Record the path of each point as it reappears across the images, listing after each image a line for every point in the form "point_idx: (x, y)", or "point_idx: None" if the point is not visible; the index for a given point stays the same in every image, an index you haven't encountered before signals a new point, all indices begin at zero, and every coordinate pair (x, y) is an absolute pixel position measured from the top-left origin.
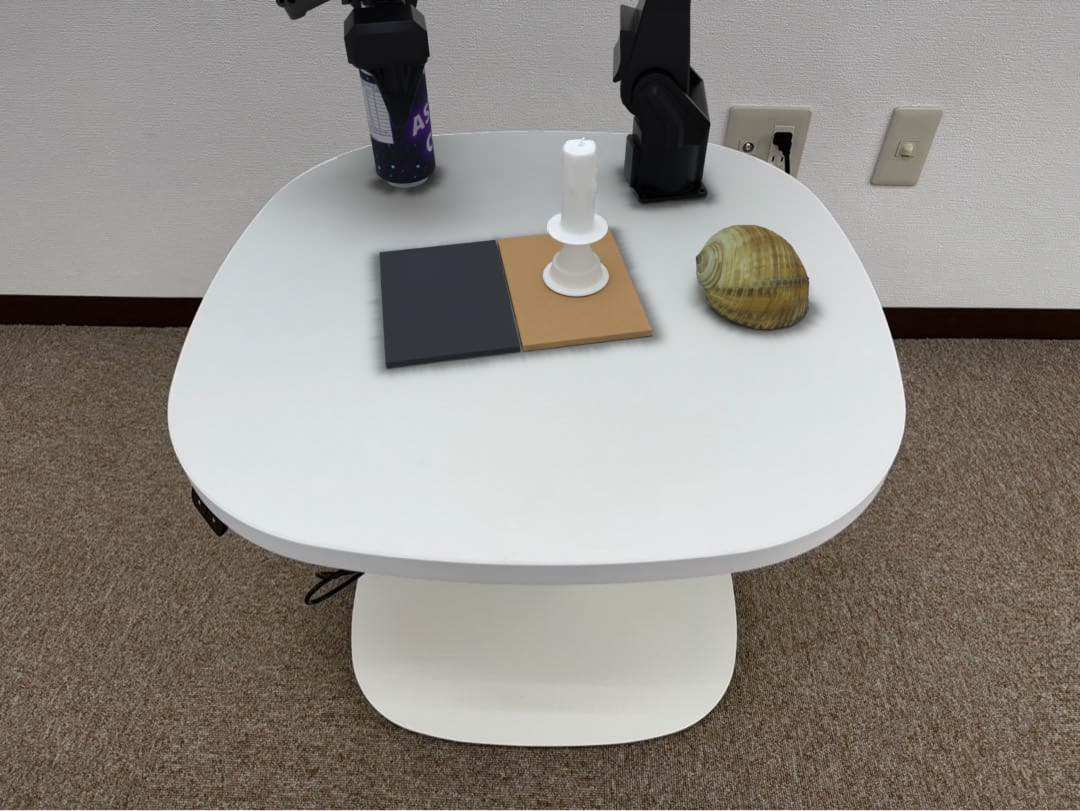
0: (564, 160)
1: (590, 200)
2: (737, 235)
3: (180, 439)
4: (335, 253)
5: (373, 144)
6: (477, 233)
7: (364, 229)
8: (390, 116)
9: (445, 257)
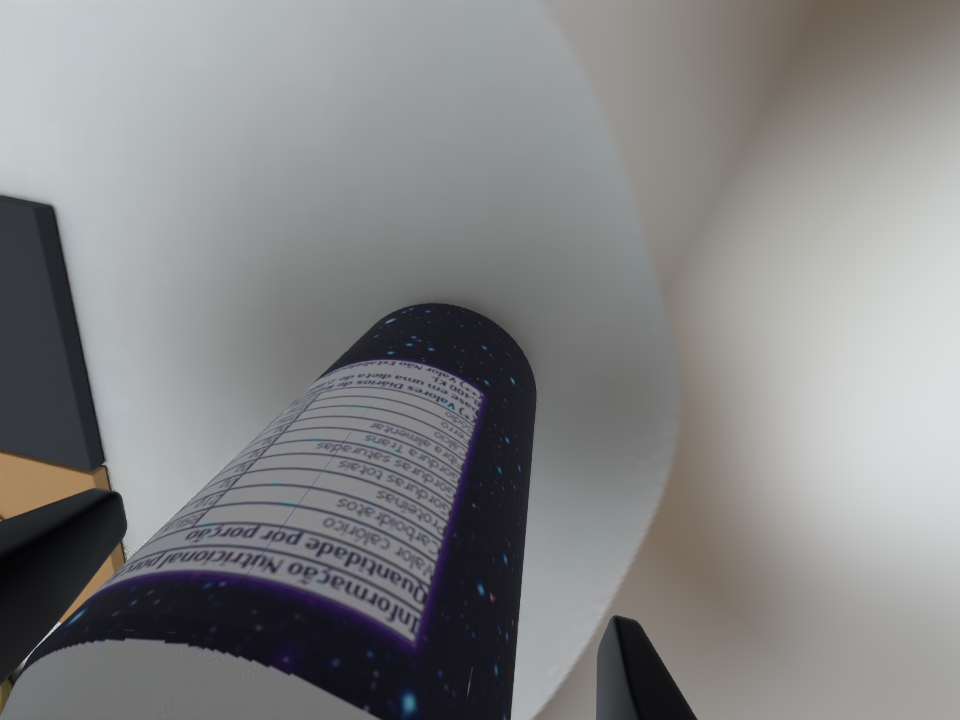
0: None
1: None
2: None
3: None
4: (72, 73)
5: (374, 348)
6: (152, 446)
7: (191, 191)
8: (10, 518)
9: (20, 358)
